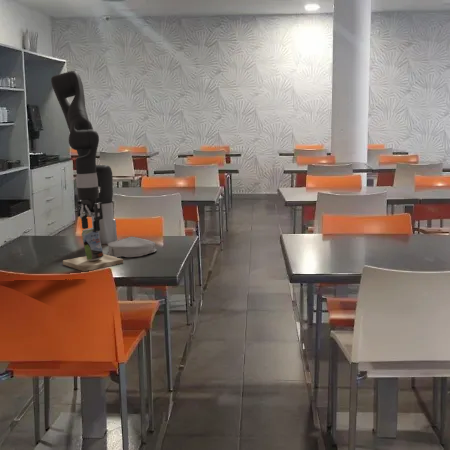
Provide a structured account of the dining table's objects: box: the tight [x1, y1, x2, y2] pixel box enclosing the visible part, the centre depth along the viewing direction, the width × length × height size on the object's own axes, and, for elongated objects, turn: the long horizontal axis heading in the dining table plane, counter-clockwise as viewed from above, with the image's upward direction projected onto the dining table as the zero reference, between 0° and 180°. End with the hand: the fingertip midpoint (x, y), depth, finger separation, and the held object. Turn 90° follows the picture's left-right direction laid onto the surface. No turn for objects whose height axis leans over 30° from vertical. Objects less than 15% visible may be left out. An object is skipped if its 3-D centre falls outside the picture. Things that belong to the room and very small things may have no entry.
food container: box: [107, 236, 157, 258], centre depth 250 cm, size 20×20×7 cm
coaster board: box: [62, 253, 124, 272], centre depth 233 cm, size 16×16×2 cm
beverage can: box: [81, 227, 104, 261], centre depth 231 cm, size 6×7×12 cm
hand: (90, 229), depth 231 cm, fingers open, 8 cm apart
